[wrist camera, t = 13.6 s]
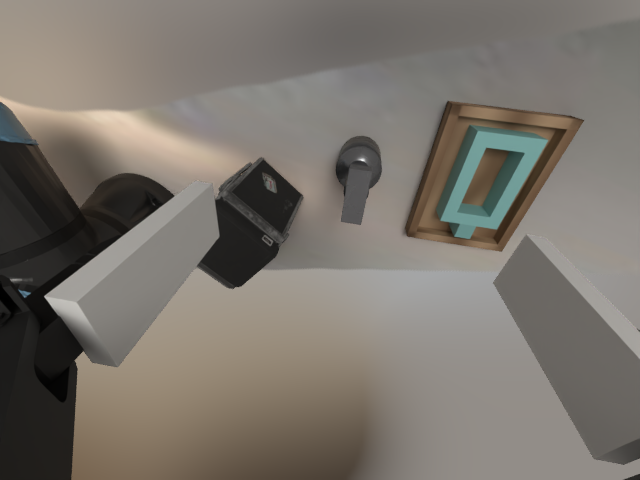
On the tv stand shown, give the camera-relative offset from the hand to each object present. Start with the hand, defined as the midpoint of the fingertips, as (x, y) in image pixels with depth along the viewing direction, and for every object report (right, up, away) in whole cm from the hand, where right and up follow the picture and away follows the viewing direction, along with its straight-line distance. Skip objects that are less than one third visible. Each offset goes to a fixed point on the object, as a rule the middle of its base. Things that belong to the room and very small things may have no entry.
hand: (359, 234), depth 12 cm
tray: (+18, +7, +22) cm, 30 cm away
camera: (-10, +6, +29) cm, 31 cm away
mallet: (+3, +11, +23) cm, 26 cm away
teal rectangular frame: (+18, +7, +22) cm, 29 cm away
